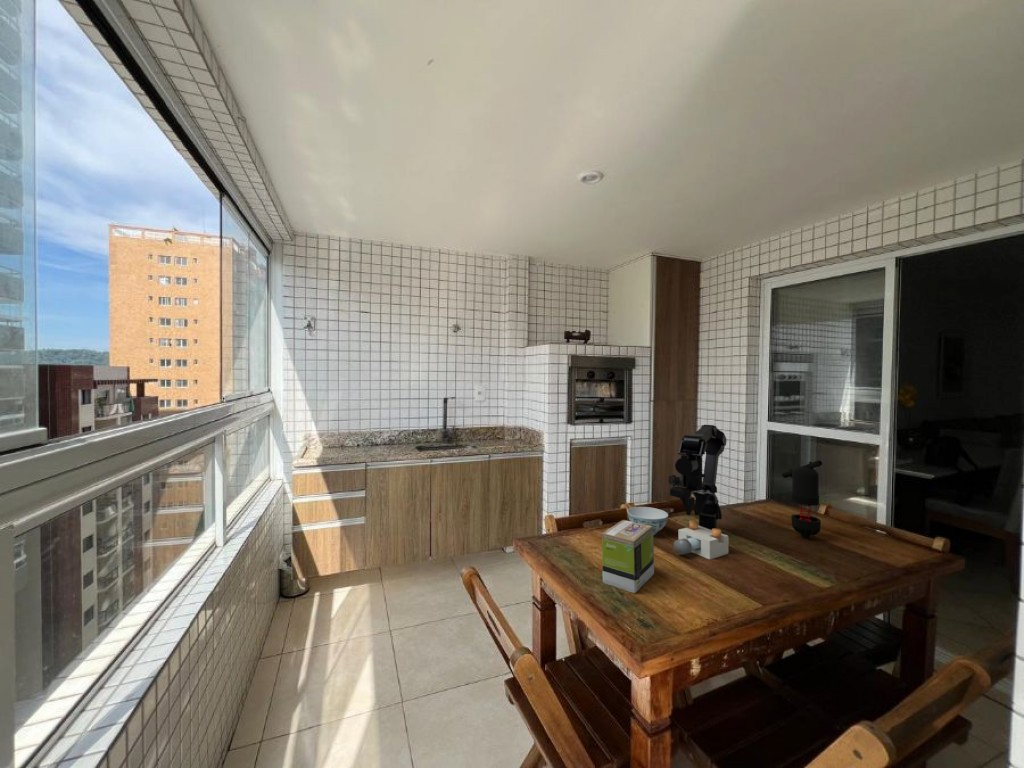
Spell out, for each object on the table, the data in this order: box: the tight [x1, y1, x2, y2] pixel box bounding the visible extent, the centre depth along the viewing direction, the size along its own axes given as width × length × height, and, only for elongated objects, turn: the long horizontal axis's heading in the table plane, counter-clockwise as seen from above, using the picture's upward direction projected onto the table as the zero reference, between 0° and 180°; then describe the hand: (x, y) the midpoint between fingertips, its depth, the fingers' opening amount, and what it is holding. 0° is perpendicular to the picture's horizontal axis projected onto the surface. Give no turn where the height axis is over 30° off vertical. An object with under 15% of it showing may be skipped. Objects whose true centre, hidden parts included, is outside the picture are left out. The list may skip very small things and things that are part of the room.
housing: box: [678, 525, 729, 561], centre depth 137 cm, size 10×12×6 cm
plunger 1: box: [688, 520, 699, 530], centre depth 142 cm, size 3×3×2 cm
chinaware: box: [627, 506, 669, 536], centre depth 154 cm, size 15×15×8 cm
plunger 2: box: [712, 528, 722, 539], centre depth 134 cm, size 3×3×2 cm
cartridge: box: [673, 537, 701, 555], centre depth 135 cm, size 16×5×5 cm, turn 119°
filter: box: [781, 459, 823, 540], centre depth 150 cm, size 14×9×30 cm
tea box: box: [601, 519, 655, 594], centre depth 116 cm, size 15×10×15 cm, turn 141°
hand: (693, 514), depth 142 cm, fingers open, 5 cm apart
